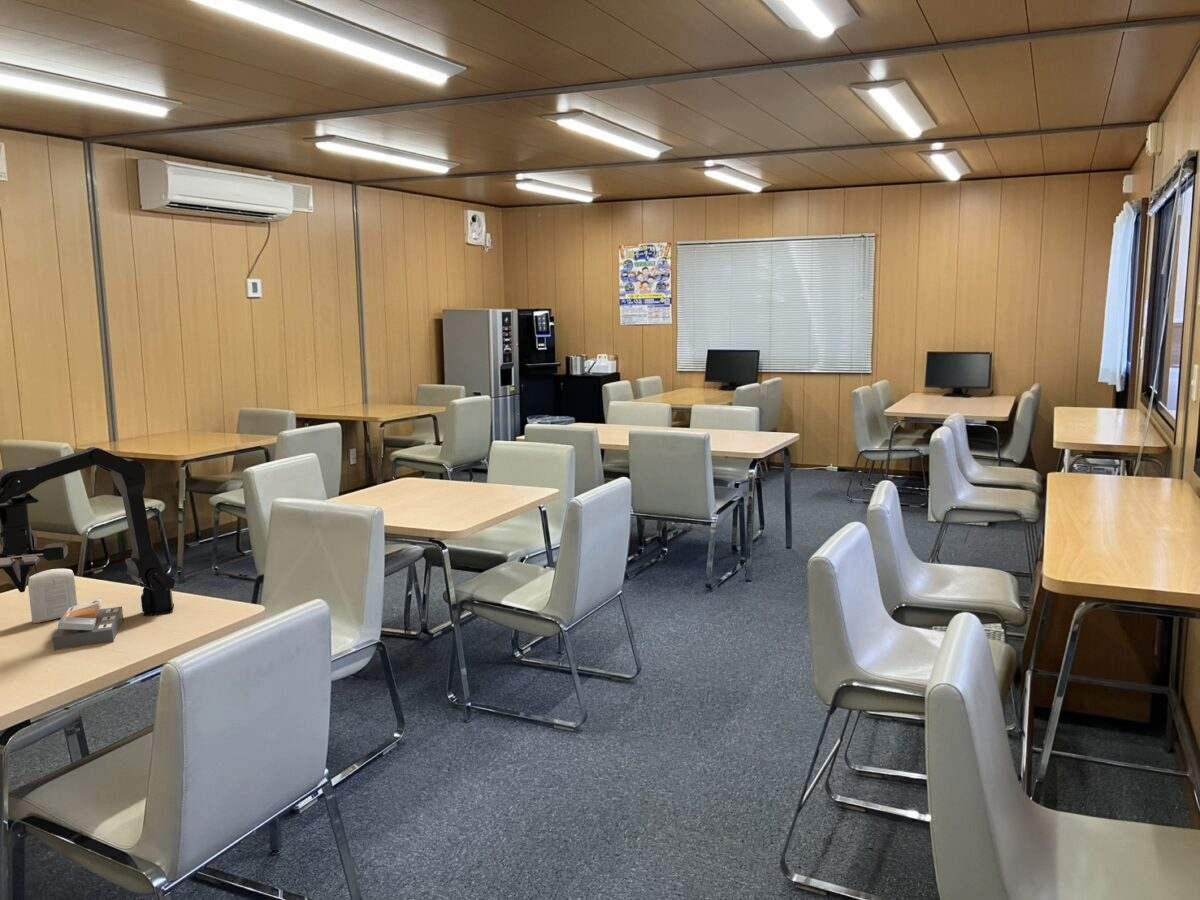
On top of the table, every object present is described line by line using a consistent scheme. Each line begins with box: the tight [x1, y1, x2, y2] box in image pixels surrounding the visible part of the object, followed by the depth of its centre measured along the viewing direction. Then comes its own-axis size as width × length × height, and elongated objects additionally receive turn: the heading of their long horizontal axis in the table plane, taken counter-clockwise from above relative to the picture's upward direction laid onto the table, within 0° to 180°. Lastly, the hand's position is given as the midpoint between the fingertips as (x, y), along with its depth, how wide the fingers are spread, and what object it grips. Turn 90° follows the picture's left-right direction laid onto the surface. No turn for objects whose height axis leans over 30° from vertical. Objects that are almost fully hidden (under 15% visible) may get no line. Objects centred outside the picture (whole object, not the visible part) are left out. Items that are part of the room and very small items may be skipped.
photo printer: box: [27, 568, 79, 624], centre depth 225 cm, size 10×4×12 cm, turn 135°
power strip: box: [51, 606, 124, 651], centre depth 214 cm, size 12×18×4 cm, turn 21°
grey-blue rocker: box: [57, 617, 96, 630], centre depth 207 cm, size 7×5×2 cm, turn 112°
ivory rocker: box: [66, 597, 103, 613], centre depth 218 cm, size 7×5×2 cm, turn 111°
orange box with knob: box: [63, 607, 99, 618], centre depth 213 cm, size 7×5×2 cm, turn 111°
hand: (22, 591), depth 205 cm, fingers closed
